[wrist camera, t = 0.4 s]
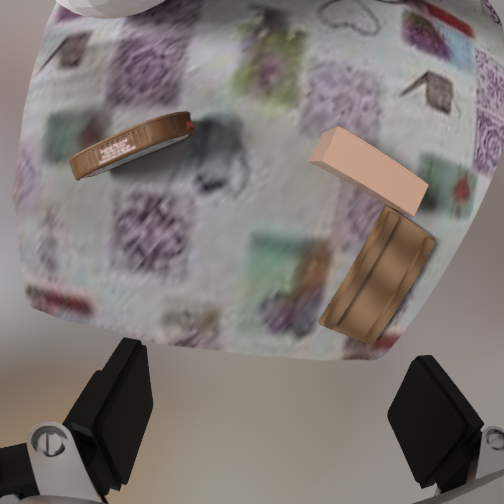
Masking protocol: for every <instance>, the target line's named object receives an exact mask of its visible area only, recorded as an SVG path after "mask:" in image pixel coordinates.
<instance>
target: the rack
mask: <svg viewBox="0 0 504 504" xmlns="http://www.w3.org/2000/svg"><path fill="white" fill-rule="evenodd" d="M433 240H434V238H433V237H432V236H431V235H429V234H428V233H426V232H425V231H424V230H422V229H421V228H419V227H418V226H416V225H415V224H414V223H412V222H411V221H409V220H408V219H406V218H405V217H403V216H402V215H400V214H399V213H397V212H396V211H394V210H393V209H391V208H390V207H388V206H384V208H383V210H382V212H381V214H380V216H379V218H378V220H377V222H376V224H375V226H374V227H373V229H372V231H371V233H370V235H369V237H368V239H367V240H366V242H365V244H364V246H363V248H362V249H361V251H360V253H359V255H358V256H357V258H356V260H355V262H354V263H353V265H352V267H351V269H350V270H349V272H348V274H347V275H346V277H345V279H344V280H343V282H342V284H341V285H340V287H339V289H338V290H337V292H336V294H335V295H334V297H333V299H332V300H331V302H330V303H329V305H328V307H327V308H326V310H325V311H324V313H323V314H322V316H321V318H320V319H319V321H318V322H319V324H320V325H322V326H324V327H327V328H329V329H332V330H334V331H337V332H339V333H342V334H344V335H347V336H349V337H352V338H354V339H357V340H359V341H362V342H365V343H367V344H370V345H373V343H374V342H375V341H376V339H377V338H378V336H379V335H380V334H381V332H382V331H383V329H384V328H385V326H386V325H387V324H388V322H389V321H390V319H391V318H392V316H393V315H394V313H395V312H396V310H397V308H398V307H399V305H400V304H401V302H402V301H403V299H404V297H405V296H406V294H407V293H408V291H409V289H410V288H411V286H412V284H413V283H414V281H415V279H416V278H417V276H418V274H419V273H420V271H421V269H422V267H423V265H424V264H425V262H426V260H427V258H428V256H429V255H430V253H431V251H432V249H433V247H434V245H435V243H436V242H434V241H433Z"/></svg>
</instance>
